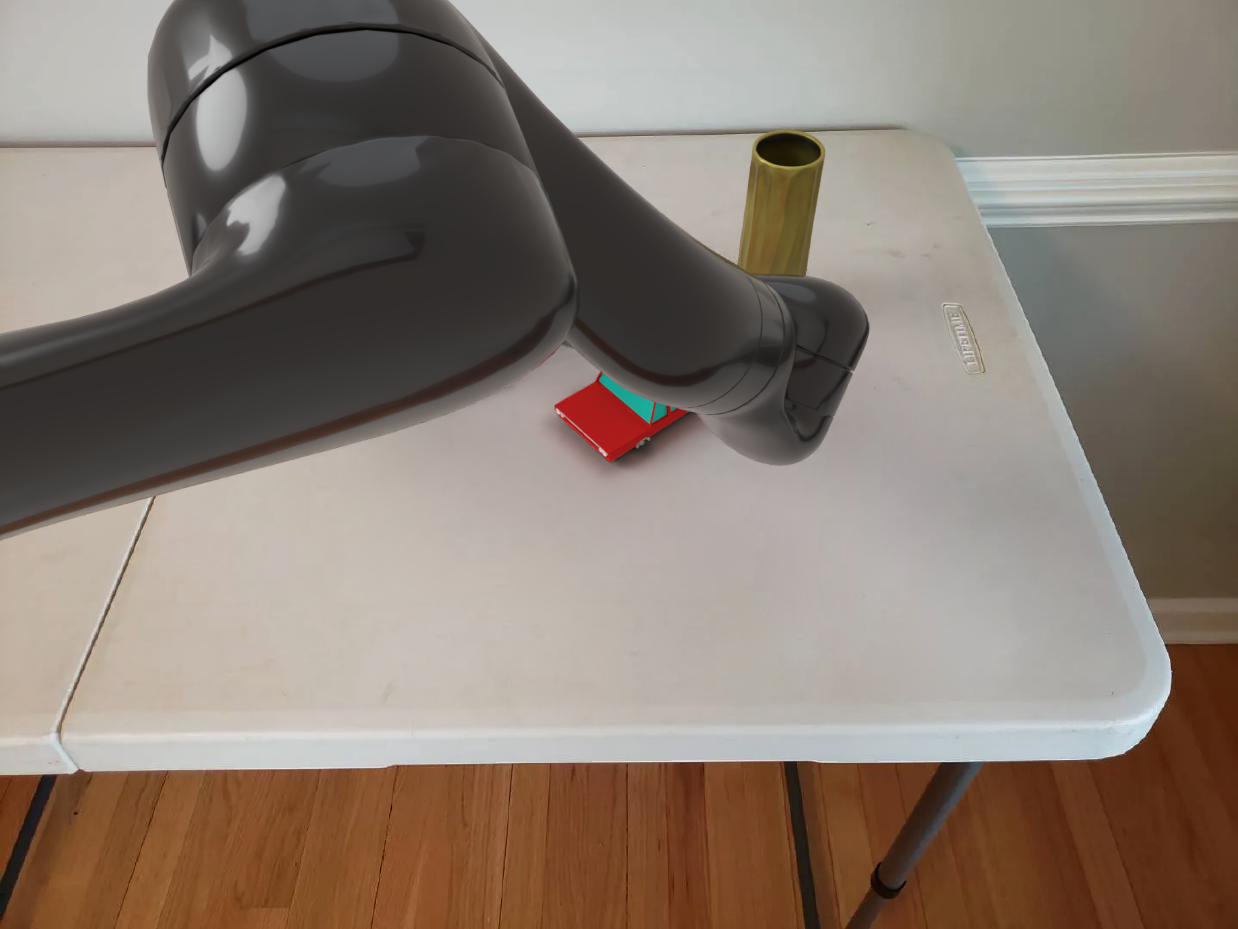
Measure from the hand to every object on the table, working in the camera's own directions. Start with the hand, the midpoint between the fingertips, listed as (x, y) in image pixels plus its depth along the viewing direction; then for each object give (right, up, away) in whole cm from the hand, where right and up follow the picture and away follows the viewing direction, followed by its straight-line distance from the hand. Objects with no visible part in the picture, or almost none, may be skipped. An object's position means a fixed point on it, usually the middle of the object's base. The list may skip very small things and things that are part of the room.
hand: (348, 195), depth 63 cm
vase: (+31, -5, +13) cm, 34 cm away
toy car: (+20, -14, +6) cm, 26 cm away
